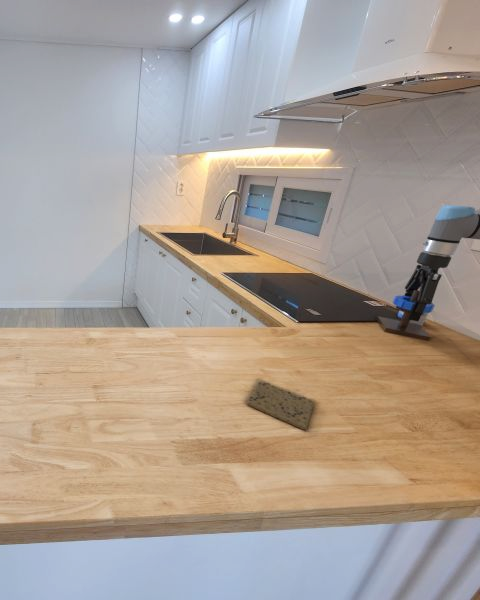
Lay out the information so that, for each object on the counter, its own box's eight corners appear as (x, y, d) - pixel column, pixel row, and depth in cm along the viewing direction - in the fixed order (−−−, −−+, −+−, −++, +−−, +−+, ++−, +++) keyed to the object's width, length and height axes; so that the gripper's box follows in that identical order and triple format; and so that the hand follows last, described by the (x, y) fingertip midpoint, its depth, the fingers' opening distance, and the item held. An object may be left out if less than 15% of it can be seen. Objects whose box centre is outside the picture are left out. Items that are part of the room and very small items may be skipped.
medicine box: (396, 315, 134) (405, 295, 131) (409, 317, 133) (419, 297, 130) (408, 324, 127) (418, 303, 123) (422, 326, 126) (433, 304, 122)
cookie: (245, 404, 77) (246, 401, 76) (259, 381, 85) (260, 378, 85) (306, 431, 70) (307, 427, 69) (314, 403, 78) (315, 400, 78)
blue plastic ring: (425, 305, 120) (428, 299, 119) (435, 315, 112) (439, 308, 111) (389, 299, 124) (392, 293, 123) (397, 308, 116) (400, 301, 115)
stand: (416, 328, 124) (435, 290, 118) (428, 341, 114) (449, 300, 108) (376, 319, 129) (392, 282, 123) (384, 331, 119) (401, 292, 113)
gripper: (410, 246, 122) (386, 302, 130) (434, 258, 103) (404, 323, 112) (438, 249, 118) (411, 307, 127) (467, 263, 100) (433, 329, 108)
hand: (407, 314), depth 119 cm, fingers closed on blue plastic ring, 10 cm apart
